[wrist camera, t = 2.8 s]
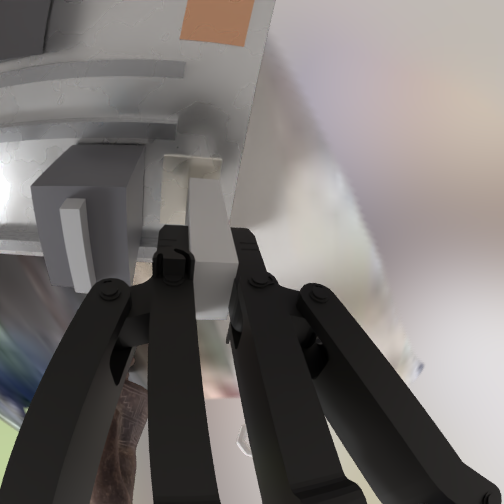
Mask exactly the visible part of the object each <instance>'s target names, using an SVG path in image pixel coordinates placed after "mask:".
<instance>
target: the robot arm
mask: <svg viewBox="0 0 504 504" xmlns="http://www.w3.org/2000/svg"><path fill="white" fill-rule="evenodd" d="M152 270H153V276H152V277H151V278H150V279H149V280H148V281H146V282H144V283H142V284H139V285H135V286H130V287H129V285H128V284H127V283H126V282H124V281H123V280H120V279H118V278H107V279H102V280H100V281H98V282H96V283H95V284H94V285H93V286H92V288H91V289H90V291H89V292H88V294H87V296H86V297H85V299H84V301H83V302H82V304H81V306H80V308H79V309H78V311H77V313H76V314H75V316H74V318H73V320H72V321H71V323H70V325H69V327H68V329H67V330H66V332H65V334H64V336H63V338H62V340H61V342H60V343H59V345H58V347H57V349H56V351H55V353H54V355H53V357H52V359H51V361H50V363H49V365H48V367H47V369H46V371H45V373H44V375H43V377H42V379H41V382H40V384H39V386H38V388H37V390H36V392H35V395H34V397H33V399H32V401H31V404H30V406H29V408H28V411H27V413H26V416H25V418H24V421H23V423H22V426H21V428H20V431H19V434H18V436H17V439H16V441H15V445H14V447H13V450H12V453H11V455H10V458H9V461H8V464H7V468H6V471H5V474H4V477H3V481H2V485H1V488H0V504H90V500H91V495H92V491H93V487H94V483H95V479H96V475H97V471H98V467H99V464H100V460H101V456H102V453H103V449H104V446H105V442H106V439H107V435H108V432H109V429H110V425H111V422H112V419H113V415H114V412H115V409H116V406H117V403H118V400H119V397H120V394H121V391H122V388H123V385H124V382H125V379H126V376H127V373H128V370H129V367H130V364H131V361H132V359H133V356H134V353H135V350H136V346H138V345H142V344H146V343H149V344H148V432H149V453H150V468H151V479H152V491H153V501H154V504H221V502H220V499H219V494H218V488H217V483H216V477H215V471H214V465H213V459H212V453H211V446H210V438H209V432H208V424H207V417H206V409H205V401H204V393H203V385H202V376H201V366H200V356H199V346H198V335H197V324H196V319H198V320H227V317H228V312H229V315H230V324H229V329H228V333H227V338H226V344H229V340H230V342H231V348H232V353H233V359H234V365H235V370H236V376H237V381H238V387H239V392H240V397H241V402H242V407H243V413H244V418H245V423H246V428H247V433H248V438H249V443H250V447H251V452H252V457H253V461H254V466H255V471H256V475H257V479H258V484H259V489H260V493H261V498H262V504H367V502H366V498H365V496H364V494H363V492H362V490H361V488H360V487H359V486H358V485H357V484H356V483H355V482H353V481H351V480H349V479H347V477H346V476H345V474H344V472H343V470H342V467H341V464H340V461H339V457H338V454H337V451H336V449H335V446H334V442H333V439H332V436H331V434H330V431H329V428H328V425H327V422H326V419H325V417H326V418H327V420H328V422H329V423H330V425H331V426H332V428H333V429H334V431H335V433H336V434H337V436H338V437H339V439H340V440H341V442H342V444H343V445H344V447H345V448H346V450H347V451H348V453H349V454H350V456H351V457H352V459H353V461H354V462H355V463H356V465H357V467H358V468H359V470H360V471H361V473H362V474H363V476H364V478H365V479H366V481H367V482H368V484H369V485H370V487H371V488H372V490H373V491H374V493H375V494H376V496H377V497H378V499H379V500H380V501H381V503H383V504H501V493H500V490H499V488H498V487H497V486H496V485H495V484H493V483H492V482H490V481H489V480H487V479H486V478H484V477H483V476H481V475H480V474H479V473H477V472H476V471H474V470H473V469H471V468H470V467H468V466H467V465H466V464H464V463H463V462H462V461H461V459H460V458H459V456H458V455H457V454H456V452H455V451H454V449H453V448H452V447H451V445H450V444H449V442H448V441H447V439H446V438H445V437H444V435H443V434H442V432H441V431H440V430H439V428H438V427H437V426H436V424H435V423H434V421H433V420H432V419H431V417H430V416H429V415H428V413H427V412H426V411H425V409H424V408H423V407H422V405H421V404H420V403H419V401H418V400H417V398H416V397H415V396H414V395H413V393H412V392H411V391H410V389H409V388H408V387H407V385H406V384H405V383H404V381H403V380H402V379H401V377H400V376H399V375H398V373H397V372H396V371H395V370H394V368H393V367H392V366H391V364H390V363H389V362H388V360H387V359H386V358H385V357H384V355H383V354H382V353H381V352H380V350H379V349H378V348H377V346H376V345H375V344H374V343H373V341H372V340H371V339H370V338H369V336H368V335H367V334H366V333H365V331H364V330H363V329H362V328H361V326H360V325H359V324H358V323H357V321H356V320H355V319H354V318H353V316H352V315H351V314H350V313H349V311H348V310H347V309H346V308H345V306H344V305H343V304H342V303H341V302H340V300H339V299H338V298H337V297H336V295H335V294H334V293H333V292H332V291H331V290H330V289H329V288H327V287H325V286H323V285H321V284H317V283H308V284H306V285H304V286H303V287H302V288H301V290H300V291H296V290H292V289H288V288H285V287H282V286H280V285H279V284H278V282H277V280H276V278H275V277H274V276H273V275H271V274H270V273H268V272H267V271H266V268H265V265H264V262H263V259H262V256H261V253H260V251H259V247H258V245H257V241H256V238H255V236H254V235H253V233H252V232H251V231H250V230H249V229H247V228H232V227H230V224H229V220H228V215H227V211H226V207H225V202H224V198H223V194H222V189H221V185H220V180H215V179H203V178H189V186H188V195H187V205H186V215H185V226H184V225H166V224H165V225H164V226H163V227H162V228H161V229H160V230H159V235H158V244H157V251H156V252H155V253H154V255H153V258H152ZM319 339H320V340H319ZM324 415H325V416H324Z"/></svg>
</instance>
